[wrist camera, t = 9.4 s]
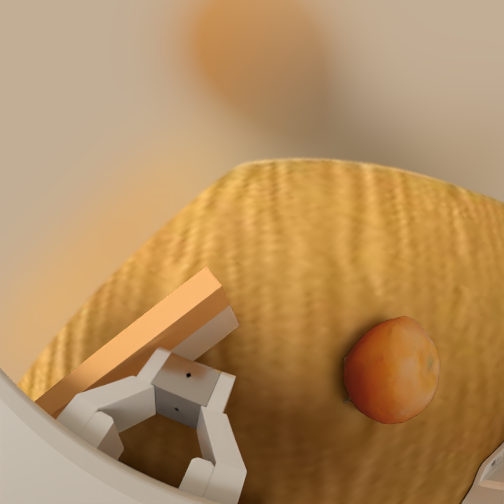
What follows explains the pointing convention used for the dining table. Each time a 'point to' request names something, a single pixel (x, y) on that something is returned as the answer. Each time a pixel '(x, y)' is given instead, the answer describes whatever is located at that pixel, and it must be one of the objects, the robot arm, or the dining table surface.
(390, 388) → the fruit
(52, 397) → the side door
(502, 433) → the dining table surface
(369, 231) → the dining table surface
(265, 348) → the dining table surface
